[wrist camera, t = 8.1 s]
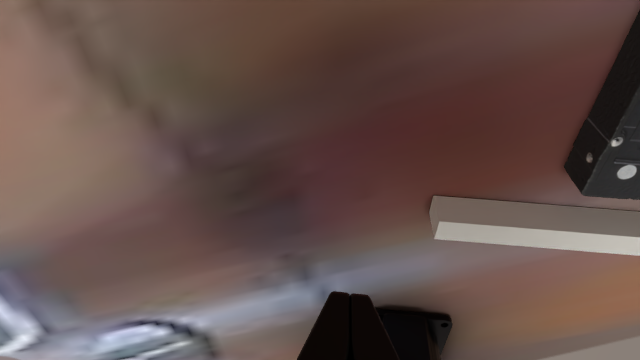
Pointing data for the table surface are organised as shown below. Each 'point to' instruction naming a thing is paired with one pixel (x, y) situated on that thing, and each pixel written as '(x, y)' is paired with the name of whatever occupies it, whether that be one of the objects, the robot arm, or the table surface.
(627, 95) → the disk drive
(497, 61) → the table surface
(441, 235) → the dock
